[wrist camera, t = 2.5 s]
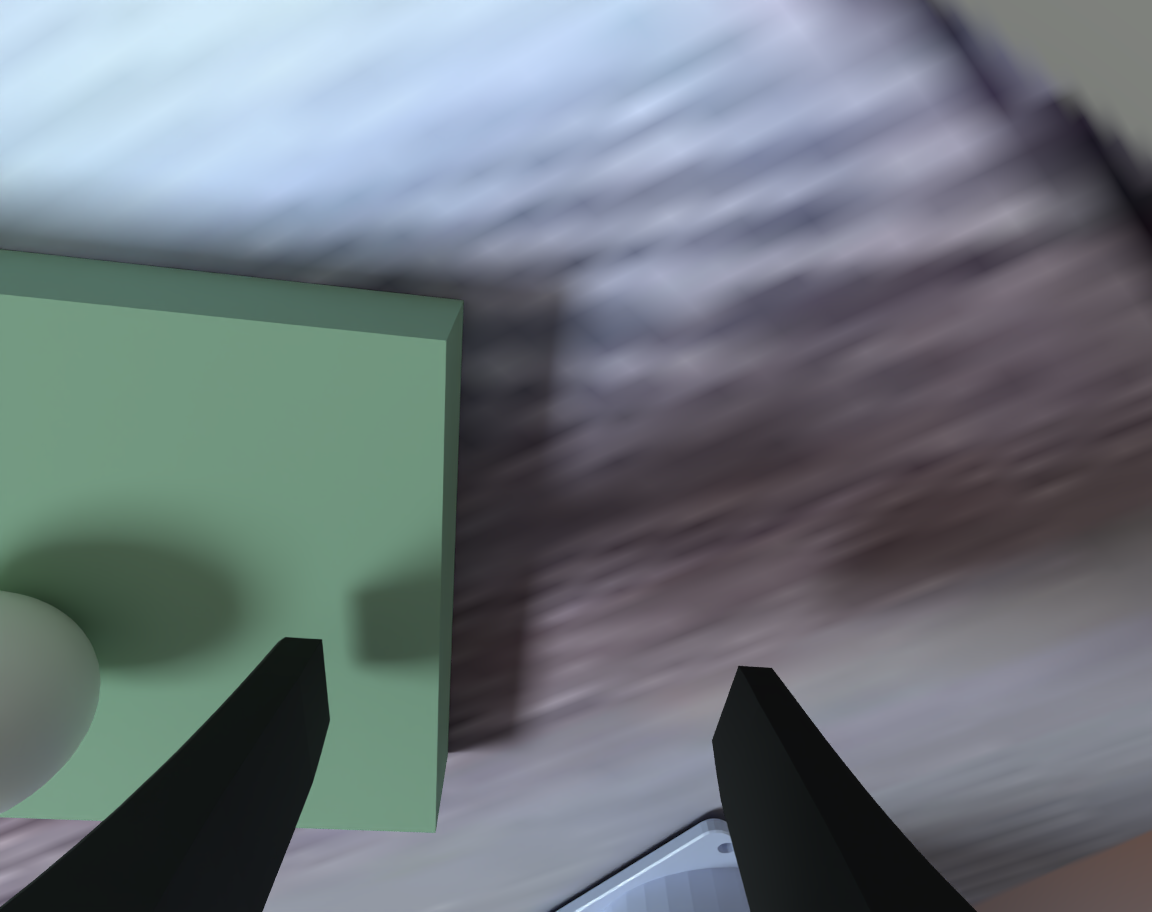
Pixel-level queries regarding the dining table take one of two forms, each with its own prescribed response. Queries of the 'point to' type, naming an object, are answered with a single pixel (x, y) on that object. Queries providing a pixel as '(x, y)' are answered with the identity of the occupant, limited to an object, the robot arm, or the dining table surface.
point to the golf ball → (41, 693)
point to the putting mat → (236, 513)
